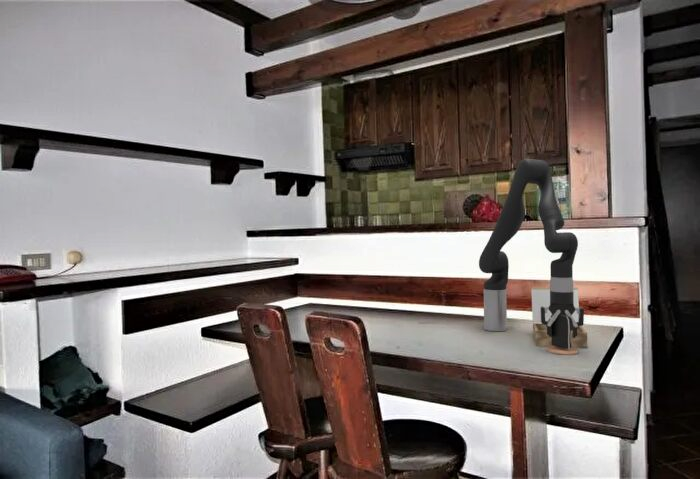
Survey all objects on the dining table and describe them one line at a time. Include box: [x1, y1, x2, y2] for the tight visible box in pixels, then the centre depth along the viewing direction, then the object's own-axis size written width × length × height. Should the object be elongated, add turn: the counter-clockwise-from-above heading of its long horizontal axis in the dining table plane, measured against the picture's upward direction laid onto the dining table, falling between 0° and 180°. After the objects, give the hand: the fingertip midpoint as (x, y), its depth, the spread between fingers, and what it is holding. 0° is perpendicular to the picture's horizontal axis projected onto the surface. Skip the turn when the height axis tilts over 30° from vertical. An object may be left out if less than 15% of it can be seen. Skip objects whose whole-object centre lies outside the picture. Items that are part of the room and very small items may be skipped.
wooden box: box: [532, 322, 588, 349], centre depth 180 cm, size 17×14×6 cm
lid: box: [530, 286, 580, 323], centre depth 189 cm, size 17×14×1 cm
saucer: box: [546, 346, 579, 356], centre depth 168 cm, size 10×10×1 cm
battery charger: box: [551, 315, 573, 349], centre depth 168 cm, size 7×4×11 cm, turn 28°
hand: (562, 336), depth 168 cm, fingers open, 7 cm apart
